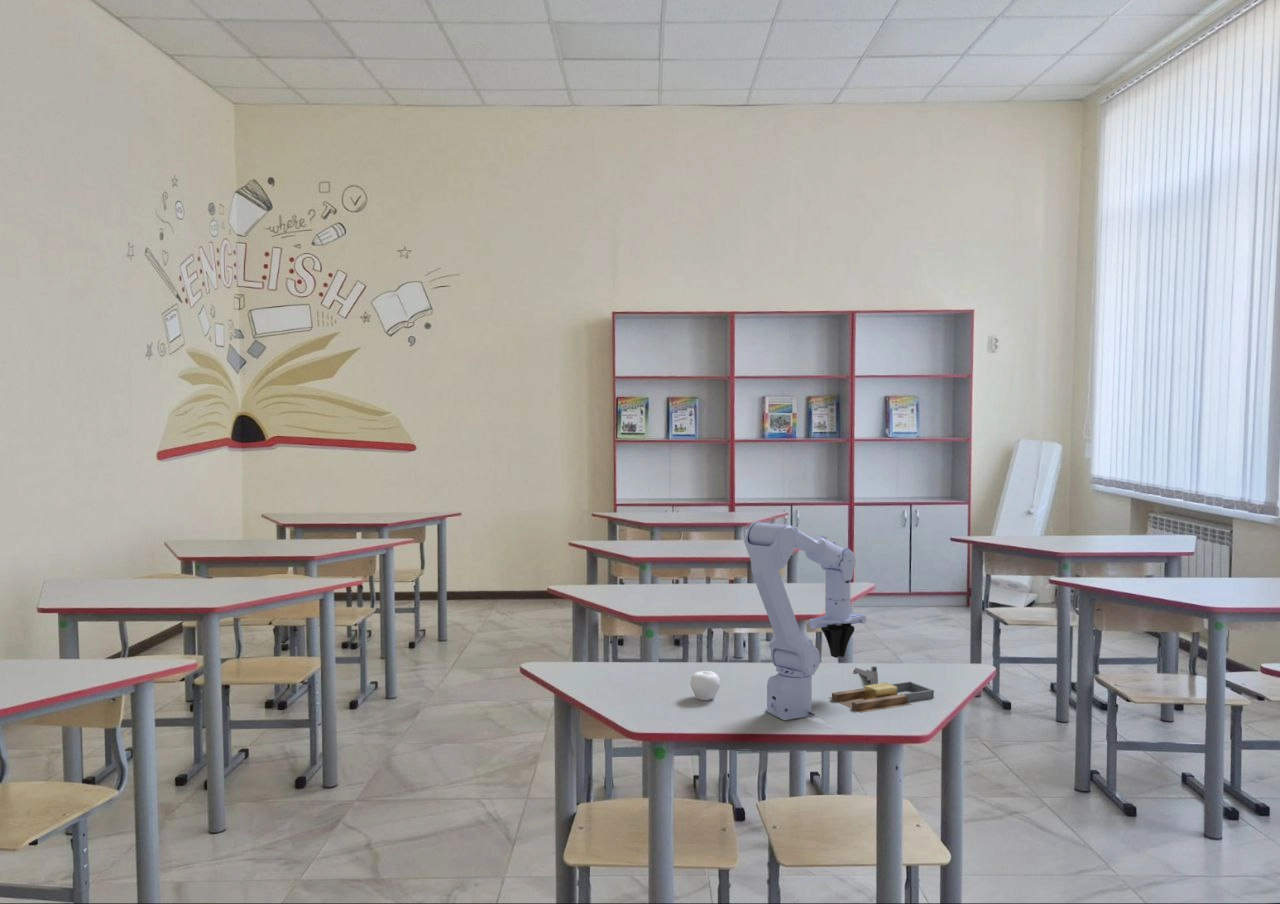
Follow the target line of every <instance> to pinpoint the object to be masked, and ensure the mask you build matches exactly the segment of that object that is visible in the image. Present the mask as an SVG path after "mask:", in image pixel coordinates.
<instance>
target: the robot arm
mask: <svg viewBox="0 0 1280 904" xmlns="http://www.w3.org/2000/svg"><path fill="white" fill-rule="evenodd" d="M743 543H744V546H745V547H746V551H747V553H748V556H749V559H750V567H751V573H752V577H753V579H754V582H755V584H756V587H757V590H758V593H759V595H760V598H761V601H762V604H763V607H764V609H765V611H766V612H765V613H766V615H767V617H768V619H769V623H770V626H771V627H772V632H773V633H774V636H773V637H772V638H771V639H770V641H769V643H768V646H769V648H770V659H771V663H772V664H773V666H775V671H776V672H777V674H774V675H772V676H770V677H768V680H767V683H766V708H764V710H765V712H767V713H769V714H771V715H773V716H775V717H777V718H778V719H781V720H782V721H787V720H788V721H789V720H797V719H801V718H807V717H813V716H814V717H815V716H816V714H815V713H813V712H811V710H812V709H813V708H812V707H813V705H812V704H813V702H812V701H813V698H812V696H813V695H812V693H813V684H812V682H813V677H812V676H813V675H815V673H816V672H817V670H818V669H819V667H820V664H821V654H820V651H819V649H818V648H817V647H816V646H815V645H814V643H813V640H812V639H811V638H810V637H809V636H808V635H807V634H805V633H804V632H803V631H801V630H800V627H799V625H798V621H797V619H796V615H795V614H794V613H795V611H794V610H793V608H792V607H793V606H792V605H791V602H790V599H789V597H788V593H787V591H786V587H785V585H784V582H783V580H782V577H781V574H780V570H782V569H784V568H785V567H786V566H787V563H788V562H789V560H790V558H791V555H793V552H794V550H795V549H798V550H800V551H802V552H804V554H805V556H806V558H807V559H808V560H810V561H812V562H814V563H816V564H818V565H820V568H821V569H822V570H824V571H825V580H824V581H825V594H824V595H825V596H824V599H825V600H824V603H825V604H824V605H825V607H824V609H825V611H824V612H825V614H824V615H822V616H819V617H815V618H810V619H809V623H808V627H809V628H810V629H813V630H817V629H819V628H820V629H821V631H822V633H823V635H824V637H825V639H826V642H827V644H828V645H827V646H828V647H829V648H828V649H829V652H830V656H831V657H833V658H835V659H837V658H839V657H841V658H844V657H845V656H846V650H847V649H848V648H847V647H848V644H849V641H850V639H851V637H852V636H853V634H854V633H855V626H853V625H855V624H863V625H864V624H866V620H867V619H866V615H865V614H862V613H853V614H852V613H851V580H852V579H853V577H854V570H855V568H856V563H857V558H856V556H855V553H854V552H853V551H852V550H851V549H850V548H849V547H841V546H840V545H839V543H837V542H831V541H829V540H828V536H825V535H817V536H813V537H811V536H809V535H808V534H806V533H804V532H802V531H801V530H800V529H799V528H798V527H797V526H793V525H792V524H778V523H769V522H768V523H767V522H762V521H754V522H752V523H751V524H750V525H749V527H748V528H747V531H746V534H745V538H744V540H743Z"/></svg>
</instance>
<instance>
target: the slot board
mask: <svg viewBox="0 0 1280 904" xmlns="http://www.w3.org/2000/svg"><path fill="white" fill-rule="evenodd" d="M904 694H905V693H898V694H897V695H892V696H886V697H879V698H873V699H865V687H863V688H856V689H850V690H842V691H837V692H832V693H831V696H830V697H829V699H830V700H832V701H834V702H836V703H838V704H840V705H843V706H846V707H848V708H849V709H852V710H854V711H856V712H859V713H867V712H874V711H880V710H886V709H892V708H898V707H899V708H900V707H905V706H906V707H907V706H911V705H913V704H912V703H909V702H908V696H906V695H904Z"/></svg>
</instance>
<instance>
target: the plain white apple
mask: <svg viewBox="0 0 1280 904" xmlns="http://www.w3.org/2000/svg"><path fill="white" fill-rule="evenodd" d="M720 687H721V679H720V677H719V675H718V674H717V673H716V672H714V671H712V670H707V665H706V664H705V665H704V668H703V670H701V671H699V670H698V671H695V672H694V673H693V674H692V675H691V677H690V688H691V690H692V692H693V695H694V697H695V698H696V699H697V700H699V699H700V701H702V700H707V701H710V699H711V700H713V699H714V698H715V697H716V695H717V693H718V691H719V689H720Z"/></svg>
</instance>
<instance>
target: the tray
mask: <svg viewBox="0 0 1280 904" xmlns="http://www.w3.org/2000/svg"><path fill="white" fill-rule="evenodd" d="M890 684H891V685H894V686H896V687H897V692H902V691H908V690H909V691H913V692H909V693H903V694H904V695H906V696H908V703H909V702H915V701H922V700H928V699H933V698H935V697H934V696H935V695H934V691H935V690H934V689H931V688H928V687H926V686H924V685H921V684H918V683H915V682H913V681H906V682H897V683H890Z"/></svg>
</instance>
